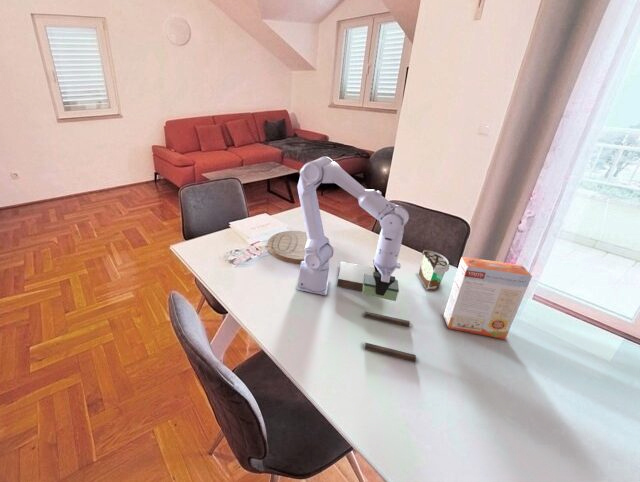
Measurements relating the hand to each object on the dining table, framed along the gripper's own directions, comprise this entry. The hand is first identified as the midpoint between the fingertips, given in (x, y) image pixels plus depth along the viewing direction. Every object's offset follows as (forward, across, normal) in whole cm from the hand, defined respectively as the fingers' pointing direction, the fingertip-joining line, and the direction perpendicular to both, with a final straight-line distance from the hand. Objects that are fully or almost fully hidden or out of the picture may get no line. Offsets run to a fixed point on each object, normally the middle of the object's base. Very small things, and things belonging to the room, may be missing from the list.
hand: (379, 288), depth 93 cm
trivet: (+9, +31, +30) cm, 44 cm away
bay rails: (+8, -10, -3) cm, 13 cm away
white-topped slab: (+8, +15, +5) cm, 18 cm away
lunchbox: (+1, 0, 0) cm, 1 cm away
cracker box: (+8, +2, -26) cm, 28 cm away
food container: (+8, +22, -19) cm, 31 cm away
